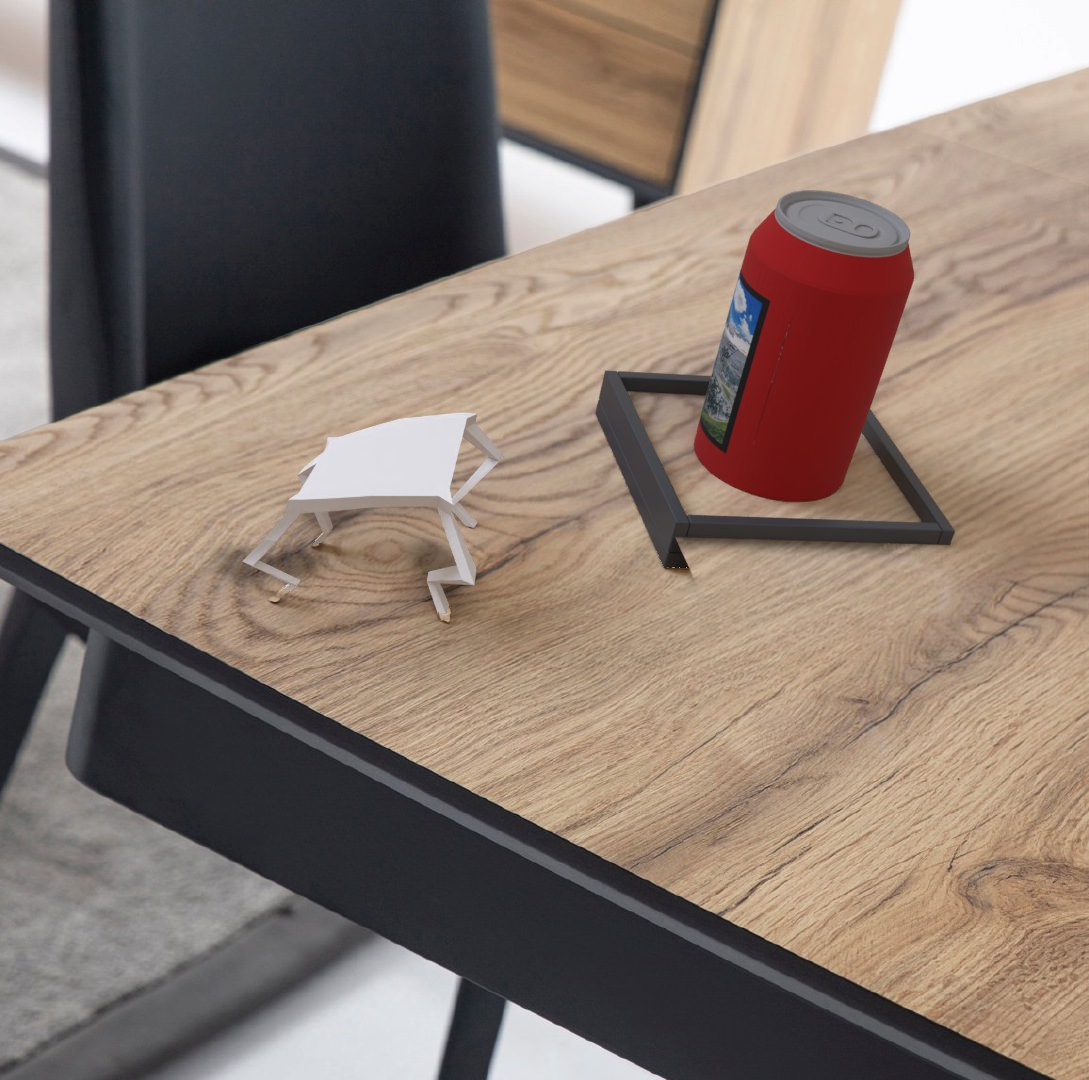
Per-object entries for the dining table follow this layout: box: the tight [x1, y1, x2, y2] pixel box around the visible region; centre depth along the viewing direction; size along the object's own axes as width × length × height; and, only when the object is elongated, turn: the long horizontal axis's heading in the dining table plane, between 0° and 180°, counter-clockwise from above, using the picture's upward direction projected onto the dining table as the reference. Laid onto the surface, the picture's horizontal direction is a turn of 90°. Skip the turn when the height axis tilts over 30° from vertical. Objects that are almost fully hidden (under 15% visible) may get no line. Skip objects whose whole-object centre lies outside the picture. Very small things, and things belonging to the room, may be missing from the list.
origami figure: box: [241, 411, 505, 615], centre depth 62 cm, size 12×8×5 cm
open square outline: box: [594, 370, 956, 569], centre depth 71 cm, size 12×12×2 cm
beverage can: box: [693, 189, 915, 503], centre depth 68 cm, size 7×7×12 cm
